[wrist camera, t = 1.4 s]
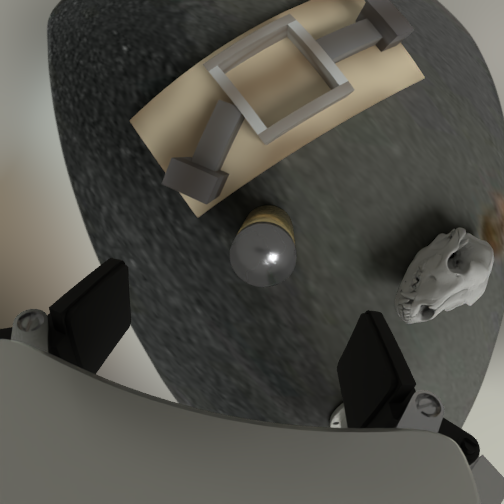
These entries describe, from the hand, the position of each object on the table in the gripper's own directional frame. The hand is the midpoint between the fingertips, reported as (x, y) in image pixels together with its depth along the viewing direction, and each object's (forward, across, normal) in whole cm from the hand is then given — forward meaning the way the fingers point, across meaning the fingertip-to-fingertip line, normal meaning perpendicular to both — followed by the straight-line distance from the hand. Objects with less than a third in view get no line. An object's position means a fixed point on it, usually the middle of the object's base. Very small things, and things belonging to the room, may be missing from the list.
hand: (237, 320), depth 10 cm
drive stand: (+16, +1, -12) cm, 20 cm away
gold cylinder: (+15, -1, +1) cm, 15 cm away
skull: (+15, -18, 0) cm, 24 cm away
